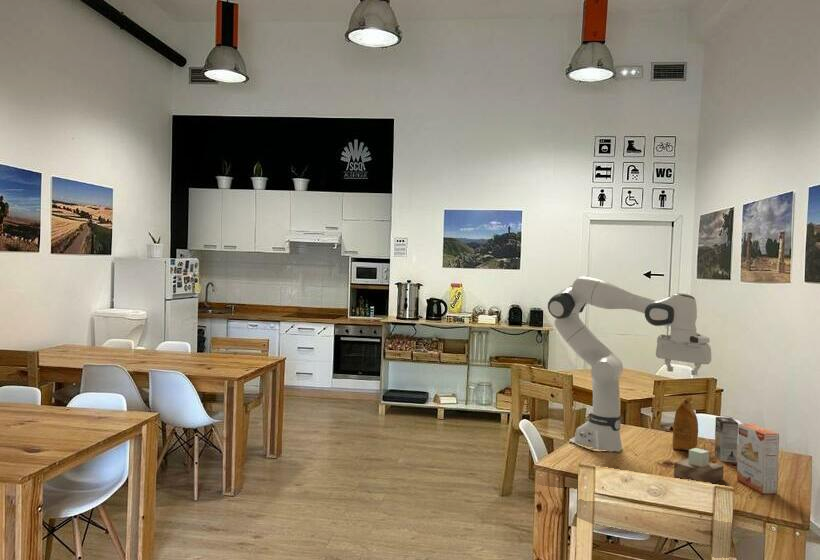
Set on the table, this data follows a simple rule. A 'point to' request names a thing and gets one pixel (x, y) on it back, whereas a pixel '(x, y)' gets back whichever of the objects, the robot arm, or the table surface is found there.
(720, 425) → the coffee box
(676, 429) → the coffee package
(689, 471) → the walnut block
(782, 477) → the table surface
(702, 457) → the sage cube
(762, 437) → the cracker box
